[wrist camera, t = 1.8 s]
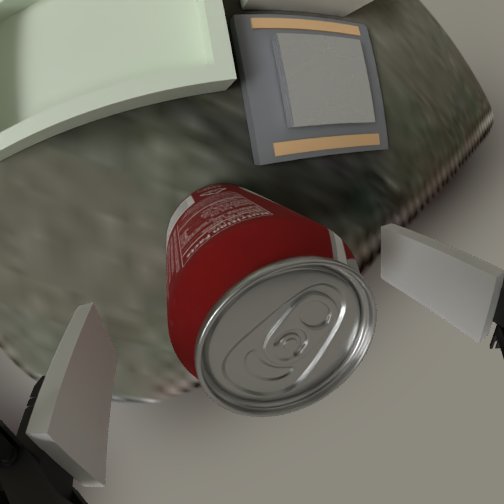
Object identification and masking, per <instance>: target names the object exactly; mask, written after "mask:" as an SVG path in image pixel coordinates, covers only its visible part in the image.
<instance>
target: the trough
mask: <svg viewBox="0 0 504 504" xmlns="http://www.w3.org/2000/svg"><path fill="white" fill-rule="evenodd" d="M236 79H237V77H236V72H235V66H234V61H233V55H232V50H231V44H230V39H229V33H228V28H227V23H226V17H225V12H224V7H223V2H222V0H0V161H2V160H4V159H5V158H7V157H9V156H11V155H13V154H15V153H17V152H19V151H21V150H23V149H25V148H28V147H30V146H32V145H34V144H36V143H39V142H41V141H43V140H45V139H48V138H50V137H53V136H55V135H57V134H60V133H62V132H65V131H68V130H70V129H73V128H75V127H78V126H81V125H84V124H87V123H89V122H92V121H95V120H98V119H101V118H105V117H108V116H111V115H114V114H118V113H121V112H125V111H128V110H132V109H135V108H139V107H143V106H147V105H151V104H155V103H160V102H164V101H169V100H173V99H178V98H183V97H189V96H194V95H200V94H206V93H212V92H219V91H226V90H227V89H228V88H229V86H230V85H231V84H232V83H233V82H234V81H235V80H236Z"/></svg>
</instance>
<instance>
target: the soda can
mask: <svg viewBox="0 0 504 504" xmlns="http://www.w3.org/2000/svg"><path fill="white" fill-rule="evenodd" d="M166 277H167V316H168V329H169V335H170V339H171V343H172V346H173V348H174V351H175V353H176V355H177V356H178V358H179V360H180V361H181V363H182V364H183V365H184V367H185V368H186V369H187V370H188V371H189V372H190V373H191V374H192V375H193V376H194V377H196V378H197V379H198V380H199V382H200V384H201V386H202V388H203V390H204V391H205V392H206V394H207V395H208V396H209V397H210V398H211V399H212V400H213V401H214V402H215V403H217V404H218V405H219V406H221V407H223V408H225V409H227V410H229V411H231V412H234V413H237V414H241V415H246V416H254V417H269V416H278V415H283V414H287V413H291V412H294V411H298V410H300V409H303V408H305V407H307V406H310V405H312V404H314V403H315V402H318V401H319V400H321V399H323V398H324V397H326V396H327V395H329V394H330V393H331V392H333V391H334V390H335V389H337V388H338V387H339V386H340V385H341V384H343V383H344V382H345V381H346V380H347V378H349V376H350V375H351V374H352V373H353V372H354V371H355V369H356V368H357V367H358V365H359V364H360V363H361V361H362V360H363V358H364V356H365V354H366V353H367V351H368V348H369V346H370V344H371V341H372V339H373V335H374V332H375V327H376V319H377V310H376V303H375V298H374V296H373V293H372V290H371V288H370V286H369V285H368V283H367V282H366V281H365V279H364V278H363V277H362V276H361V275H360V272H359V268H358V265H357V263H356V260H355V258H354V256H353V254H352V252H351V251H350V249H349V248H348V246H347V245H346V244H345V243H344V242H343V241H342V239H341V238H340V237H339V236H337V235H336V234H335V233H334V232H333V231H331V230H329V229H328V228H326V227H325V226H323V225H321V224H319V223H317V222H315V221H313V220H311V219H309V218H307V217H305V216H303V215H301V214H299V213H297V212H294V211H292V210H290V209H288V208H286V207H284V206H282V205H280V204H278V203H275V202H273V201H271V200H269V199H267V198H265V197H263V196H260V195H258V194H256V193H254V192H252V191H249V190H247V189H245V188H243V187H240V186H237V185H232V184H214V185H209V186H206V187H203V188H201V189H198V190H196V191H195V192H193V193H192V194H190V195H189V196H187V197H186V198H185V199H184V200H183V201H182V202H181V203H180V204H179V206H178V207H177V208H176V210H175V211H174V213H173V215H172V217H171V219H170V222H169V225H168V230H167V247H166Z"/></svg>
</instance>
